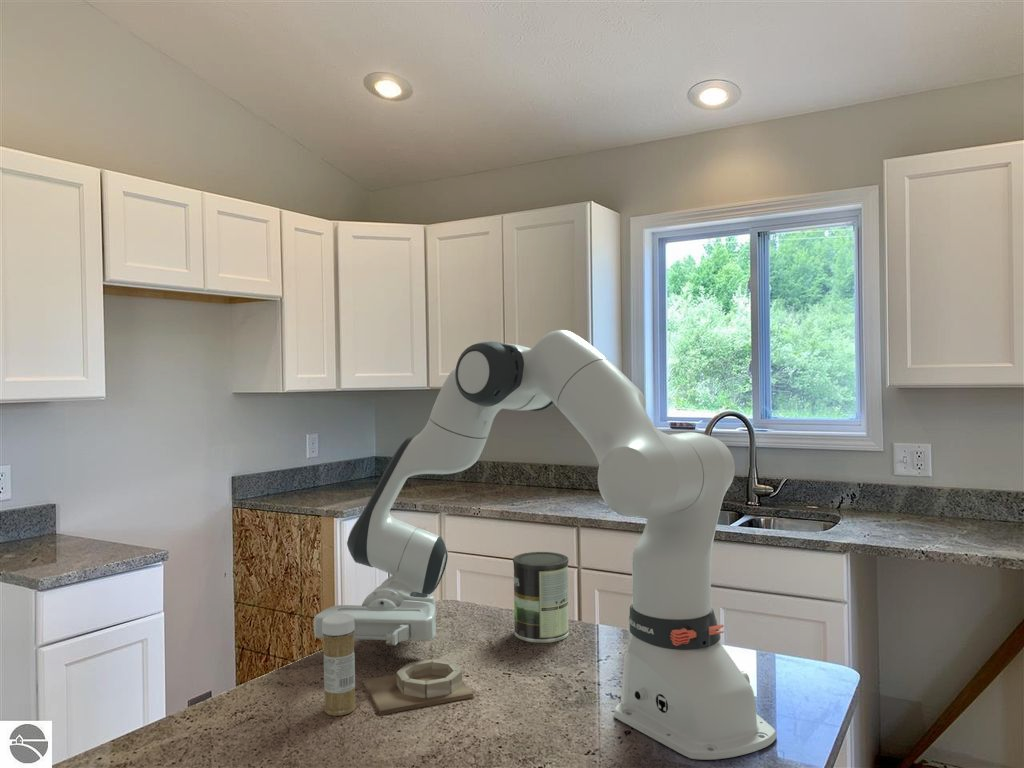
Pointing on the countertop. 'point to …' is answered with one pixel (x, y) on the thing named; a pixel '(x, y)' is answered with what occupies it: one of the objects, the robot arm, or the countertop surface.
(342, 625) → the sprinkles bottle
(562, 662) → the countertop surface
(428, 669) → the socket board
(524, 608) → the coffee can
